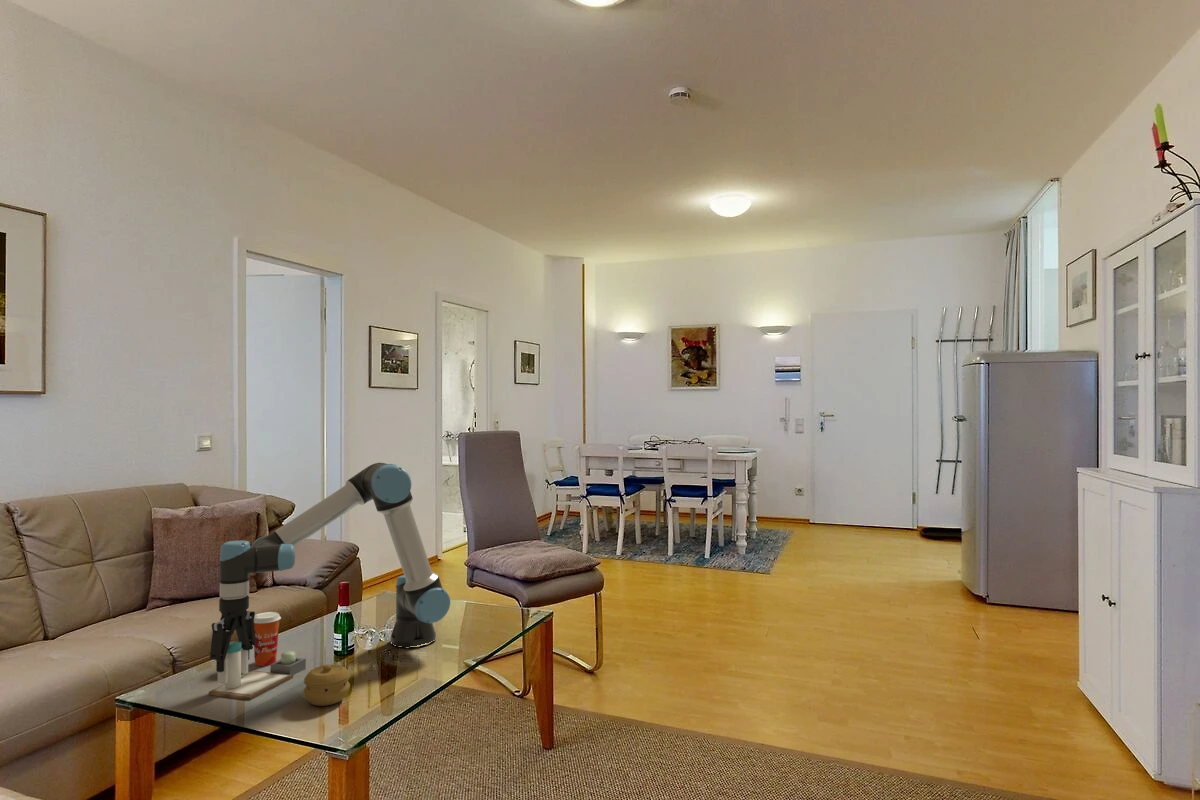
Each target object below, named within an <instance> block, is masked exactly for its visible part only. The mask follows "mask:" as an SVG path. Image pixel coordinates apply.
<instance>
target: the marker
mask: <svg viewBox="0 0 1200 800" xmlns="http://www.w3.org/2000/svg"><path fill="white" fill-rule="evenodd" d="M241 650H242V648H241V642H240V641H239V640H238V641H237V640H235V641H230V643H229V647H228V651H227V654H226V658H225V659H228V683H226V684H225V683H224V684H225V688H226V689H233V688H237V687H239V686H241V676H242V673H241Z"/></svg>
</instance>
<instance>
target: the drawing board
mask: <svg viewBox="0 0 1200 800" xmlns="http://www.w3.org/2000/svg"><path fill="white" fill-rule="evenodd" d="M293 678H294V675H288V674H279V673H271V672H269V671H259V670H252V671H250V672H248V673H247V674H244V675H241V686H239V687H237V688H233V689H226V688H225V683H223V684H222V685H220V686H218V687H216V688H214V689H211V690H210V691H208V695H209V696H217V697H224V698H231V699H239V700H247V701H251V700H254V699H256V698H257V697H259V696H261V695H263V694H265V693H267V692H269V691H271V690H272V689H275V688H277V687H278V686H280V685H281V684H284V683H286V682H287V681H289V680H292V679H293Z"/></svg>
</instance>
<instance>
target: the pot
mask: <svg viewBox="0 0 1200 800" xmlns="http://www.w3.org/2000/svg"><path fill="white" fill-rule="evenodd" d="M350 677H351V673H350V671H349V670H348V669H347V668H346V667H344V666H342V665H341V664H324V665H320V666H317V667H315V668H313V669H312V670H310V671H309V672H308V673H307V674H306V675H305V677H304V679H303V680H304V681H303V683H304V685H305V687H304V689H303V696H304V697H305V699H306V700H307V701H308V702H309V703H310V704H312V705H313V706H320V707H323V706H324V707H325V706H330V705H334V704H335V705H336V704H338V703H339V702H341V701H342V700H344V698H345V697H346V696H347V694H348V693H349V691H350V687H351V683H350V682H349V679H350Z"/></svg>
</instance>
